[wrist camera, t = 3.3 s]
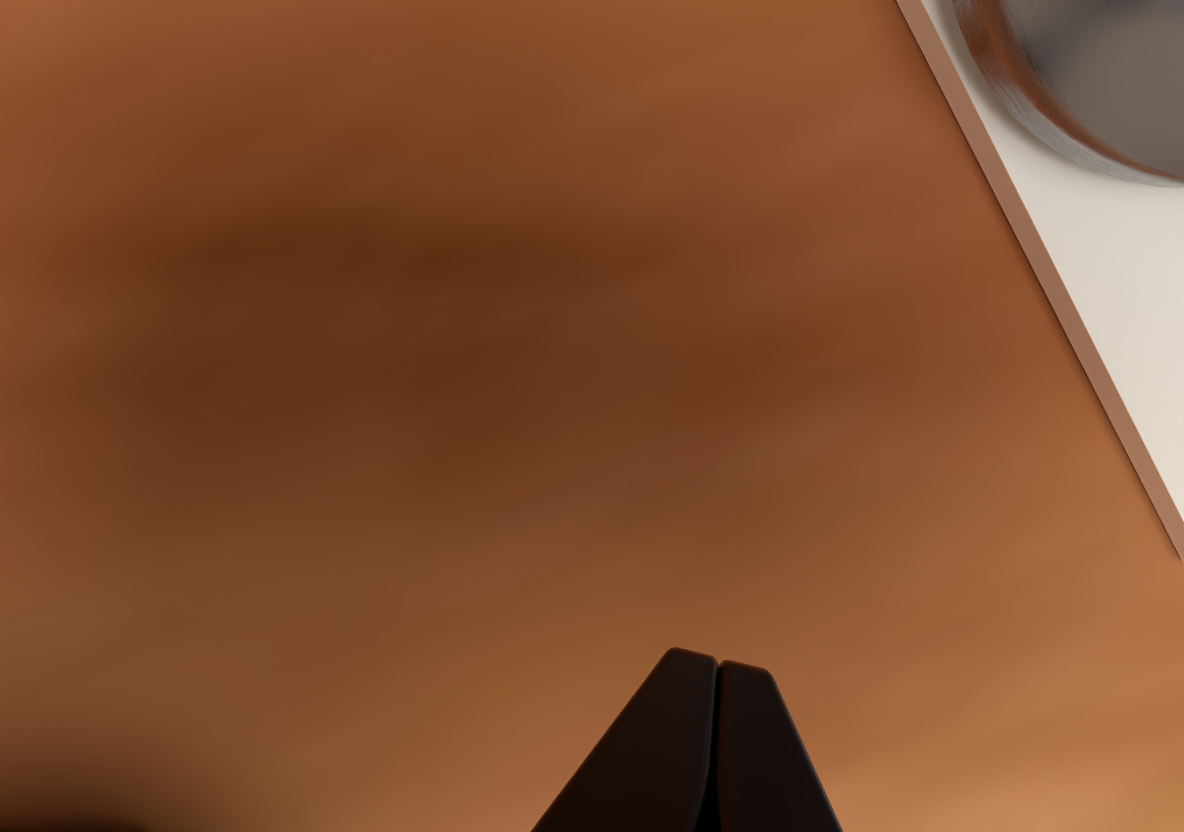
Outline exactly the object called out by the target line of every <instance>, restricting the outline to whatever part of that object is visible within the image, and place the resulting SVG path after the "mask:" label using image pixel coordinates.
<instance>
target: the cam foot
mask: <svg viewBox="0 0 1184 832" xmlns="http://www.w3.org/2000/svg"><path fill="white" fill-rule="evenodd" d="M952 3H953V7H954V11H955V14H956V18H957V22H958V24H959V27H960V29H961V32H962V34H963V36H964V39H965V41H966V44H967V46H968V49H969V51H970V53H971V56H972V58H973V59H974V61H975V63H976V65H977V66H978V68H979V70H980V71H981V73H982V75H983V76H984V78H985V80H986V82H987V83H988V85H989V87H990V88H991V89H992V91H993V92H994V93H995V94H996V96H997V97H998V98H999V99H1000V101H1001V102H1002V103H1003V105H1004V106H1005V107H1006V108H1007V110H1008V111H1009V112H1010V113H1011V115H1012V116H1014V117H1015V118H1016V119H1017V120H1018V121H1019V122H1020V123H1021V124H1022V125H1023V126H1024V127H1025V128H1026V129H1027V130H1029V131H1030V132H1031V133H1032V134H1033V135H1034V136H1035V137H1036V138H1037V139H1039V140H1040V141H1042V142H1043V143H1045V144H1046V145H1047V146H1049V147H1050V148H1052V149H1053V150H1055V151H1056V152H1058V153H1059V154H1061V155H1062V156H1064V157H1065V158H1067V159H1069V160H1071V161H1073V162H1075V163H1078V164H1080V165H1082V166H1084V167H1086V168H1088V169H1090V170H1092V171H1094V172H1097V173H1100V174H1103V175H1107V176H1110V177H1113V178H1116V179H1119V180H1123V181H1126V182H1131V183H1138V184H1144V185H1150V186H1156V187H1171V188H1184V0H952Z"/></svg>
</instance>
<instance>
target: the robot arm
mask: <svg viewBox="0 0 1184 832" xmlns="http://www.w3.org/2000/svg"><path fill="white" fill-rule="evenodd" d="M531 832H843V830H842V828H841V826H840V824H839V822H838V819H837V817H836V815H835V813H834V811H833V808H832V806H831V804H830V802H829V799H828V797H827V795H826V793H825V791H824V788H823V786H822V784H821V782H820V780H819V777H818V775H817V773H816V771H815V769H814V766H813V764H812V762H811V760H810V757H809V755H808V753H807V751H806V749H805V746H804V744H803V742H802V740H801V738H800V735H799V733H798V731H797V729H796V727H795V724H794V722H793V720H792V718H791V715H790V713H789V711H788V709H787V707H786V704H785V702H784V700H783V698H782V696H781V693H780V691H779V689H778V687H777V685H776V682H775V680H774V678H773V676H772V675H771V674H770V673H769V672H768V671H767V670H766V669H763V668H760V667H755V666H751V665H747V664H743V663H739V662H735V661H731V660H725V661H723V662H721V663H720V664H719V666H718V663H717V660H716V659H715V658H714V657H713V656H711V655H707V654H702V653H698V652H694V651H690V650H686V649H682V648H678V647H674V648H671V649H669V650H668V651H667V652H666V653H665V654H664V655H663V657H662V658H661V659H660V661H659V662H658V663H657V665H656V666H655V667H654V669H653V670H652V671H651V673H650V674H649V675H648V677H647V678H646V679H645V681H644V682H643V683H642V685H641V686H640V687H639V689H638V690H637V691H636V693H635V694H634V695H633V696H632V698H631V699H630V700H629V702H628V703H627V704H626V706H625V707H624V708H623V710H622V711H621V712H620V714H619V715H618V716H617V718H616V719H615V720H614V722H613V723H612V724H611V726H610V727H609V728H608V730H607V731H606V732H605V734H604V735H603V736H602V738H601V739H600V740H599V742H598V743H597V744H596V746H595V747H594V748H593V750H592V751H591V752H590V753H589V755H588V756H587V757H586V759H585V760H584V761H583V763H582V764H581V765H580V767H579V768H578V769H577V771H576V772H575V773H574V775H573V776H572V777H571V779H570V780H569V781H568V783H567V784H566V785H565V787H564V788H563V789H562V791H561V792H560V793H559V795H558V796H557V797H556V799H555V800H554V801H553V803H552V804H551V805H550V807H549V808H548V809H547V811H546V812H545V813H544V814H543V816H542V817H541V818H540V820H539V821H538V822H537V824H536V825H535V826H534V828H533V829H532V830H531Z"/></svg>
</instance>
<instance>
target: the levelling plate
mask: <svg viewBox="0 0 1184 832" xmlns="http://www.w3.org/2000/svg"><path fill="white" fill-rule="evenodd" d="M896 1H897V3H898V5H899V7H900V9H901V11H902V13H903V15H904V17H905V19H906V21H907V23H908V25H909V27H910V29H911V31H912V33H913V35H914V37H915V39H916V41H917V43H918V45H919V47H920V48H921V50H922V52H923V54H924V56H925V58H926V60H927V62H928V64H929V66H930V68H931V70H932V72H933V74H934V76H935V78H936V80H937V82H938V84H939V86H940V88H941V90H942V92H943V94H944V96H945V97H946V99H947V101H948V103H949V105H950V107H951V109H952V111H953V113H954V115H955V117H956V119H957V121H958V123H959V125H960V127H961V129H962V131H963V133H964V135H965V137H966V139H967V141H968V143H969V145H970V147H971V148H972V150H973V152H974V154H975V156H976V158H977V160H978V162H979V164H980V166H981V168H982V170H983V172H984V174H985V176H986V178H987V180H988V182H989V184H990V186H991V188H992V190H993V192H994V194H995V196H996V197H997V199H998V201H999V203H1000V205H1001V207H1002V209H1003V211H1004V213H1005V215H1006V217H1007V219H1008V221H1009V223H1010V225H1011V227H1012V229H1013V231H1014V233H1015V235H1016V237H1017V239H1018V241H1019V243H1020V245H1021V246H1022V248H1023V250H1024V252H1025V254H1026V256H1027V258H1028V260H1029V262H1030V264H1031V266H1032V268H1033V270H1034V272H1035V274H1036V276H1037V278H1038V280H1039V282H1040V284H1041V286H1042V288H1043V290H1044V292H1045V294H1046V296H1047V297H1048V299H1049V301H1050V303H1051V305H1052V307H1053V309H1054V311H1055V313H1056V315H1057V317H1058V319H1059V321H1060V323H1061V325H1062V327H1063V329H1064V331H1065V333H1066V335H1067V337H1068V339H1069V341H1070V343H1071V345H1072V346H1073V348H1074V350H1075V352H1076V354H1077V356H1078V358H1079V360H1080V362H1081V364H1082V366H1083V368H1084V370H1085V372H1086V374H1087V376H1088V378H1089V380H1090V382H1091V384H1092V386H1093V388H1094V390H1095V392H1096V394H1097V395H1098V397H1099V399H1100V401H1101V403H1102V405H1103V407H1104V409H1105V411H1106V413H1107V415H1108V417H1109V419H1110V421H1111V423H1112V425H1113V427H1114V429H1115V431H1116V433H1117V435H1118V437H1119V439H1120V441H1121V443H1122V445H1123V446H1124V448H1125V450H1126V452H1127V454H1128V456H1129V458H1130V460H1131V462H1132V464H1133V466H1134V468H1135V470H1136V472H1137V474H1138V476H1139V478H1140V480H1141V482H1142V484H1143V486H1144V488H1145V490H1146V492H1147V494H1148V495H1149V497H1150V499H1151V501H1152V503H1153V505H1154V507H1155V509H1156V511H1157V513H1158V515H1159V517H1160V519H1161V521H1162V523H1163V525H1164V527H1165V529H1166V531H1167V533H1168V535H1169V537H1170V539H1171V541H1172V543H1173V544H1174V546H1175V548H1176V550H1177V552H1178V554H1179V556H1180V558H1181V560H1182V561H1183V562H1184V188H1171V187H1156V186H1150V185H1144V184H1138V183H1131V182H1126V181H1123V180H1119V179H1116V178H1113V177H1110V176H1107V175H1103V174H1100V173H1097V172H1094V171H1092V170H1090V169H1088V168H1086V167H1084V166H1082V165H1080V164H1078V163H1075V162H1073V161H1071V160H1069V159H1067V158H1065V157H1064V156H1062V155H1061V154H1059V153H1058V152H1056V151H1055V150H1053V149H1052V148H1050V147H1049V146H1047V145H1046V144H1045V143H1043V142H1042V141H1040V140H1039V139H1037V138H1036V137H1035V136H1034V135H1033V134H1032V133H1031V132H1030V131H1029V130H1027V129H1026V128H1025V127H1024V126H1023V125H1022V124H1021V123H1020V122H1019V121H1018V120H1017V119H1016V118H1015V117H1014V116H1012V115H1011V113H1010V112H1009V111H1008V110H1007V108H1006V107H1005V106H1004V105H1003V103H1002V102H1001V101H1000V99H999V98H998V97H997V96H996V94H995V93H994V92H993V91H992V89H991V88H990V87H989V85H988V83H987V82H986V80H985V78H984V76H983V75H982V73H981V71H980V70H979V68H978V66H977V65H976V63H975V61H974V59H973V58H972V56H971V53H970V51H969V49H968V46H967V44H966V41H965V39H964V36H963V34H962V32H961V29H960V27H959V24H958V22H957V18H956V14H955V11H954V7H953V3H952V0H896Z"/></svg>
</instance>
